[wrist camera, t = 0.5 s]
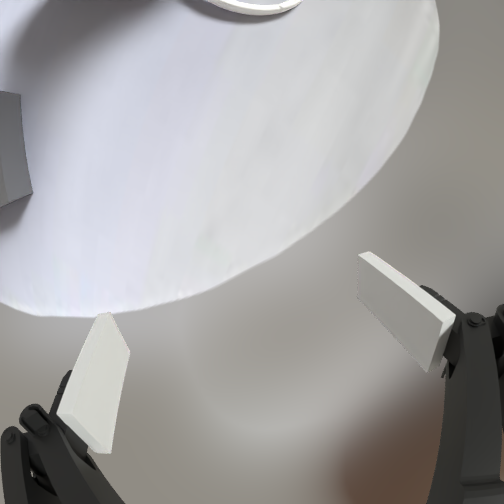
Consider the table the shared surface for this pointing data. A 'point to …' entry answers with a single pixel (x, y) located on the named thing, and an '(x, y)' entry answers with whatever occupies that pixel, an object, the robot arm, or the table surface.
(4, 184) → the housing
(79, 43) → the table surface
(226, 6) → the headphones
